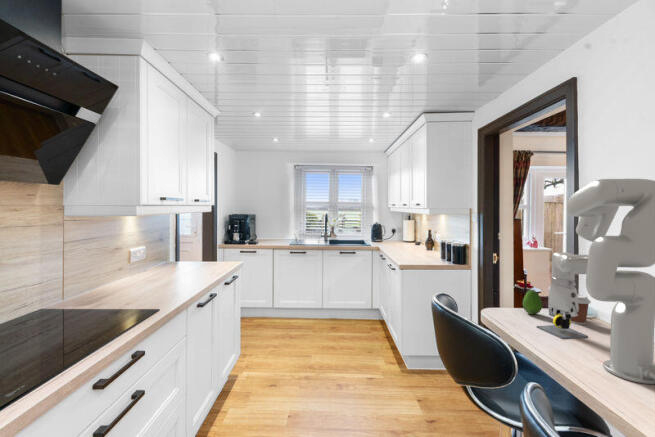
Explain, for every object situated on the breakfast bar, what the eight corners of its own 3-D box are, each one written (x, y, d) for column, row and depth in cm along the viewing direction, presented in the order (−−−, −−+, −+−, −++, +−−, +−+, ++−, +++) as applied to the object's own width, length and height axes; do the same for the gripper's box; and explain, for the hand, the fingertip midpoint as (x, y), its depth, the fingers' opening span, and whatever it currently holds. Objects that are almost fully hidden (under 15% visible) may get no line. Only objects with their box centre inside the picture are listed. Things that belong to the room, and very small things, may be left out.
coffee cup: (559, 319, 143) (560, 294, 143) (571, 317, 147) (571, 292, 146) (582, 326, 135) (583, 299, 134) (594, 323, 138) (595, 296, 138)
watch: (567, 328, 129) (568, 314, 129) (571, 330, 126) (572, 316, 126) (551, 326, 130) (552, 312, 130) (555, 328, 127) (556, 314, 127)
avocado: (523, 315, 149) (524, 290, 149) (521, 310, 156) (521, 286, 156) (543, 317, 146) (544, 292, 145) (540, 312, 153) (541, 288, 152)
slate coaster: (588, 337, 123) (588, 335, 123) (561, 338, 122) (561, 337, 121) (561, 326, 135) (561, 324, 135) (536, 327, 133) (536, 325, 133)
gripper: (589, 287, 120) (588, 334, 121) (553, 278, 136) (553, 320, 137) (572, 287, 119) (571, 335, 120) (538, 278, 135) (537, 320, 135)
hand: (561, 326), depth 128 cm, fingers closed on watch, 2 cm apart
